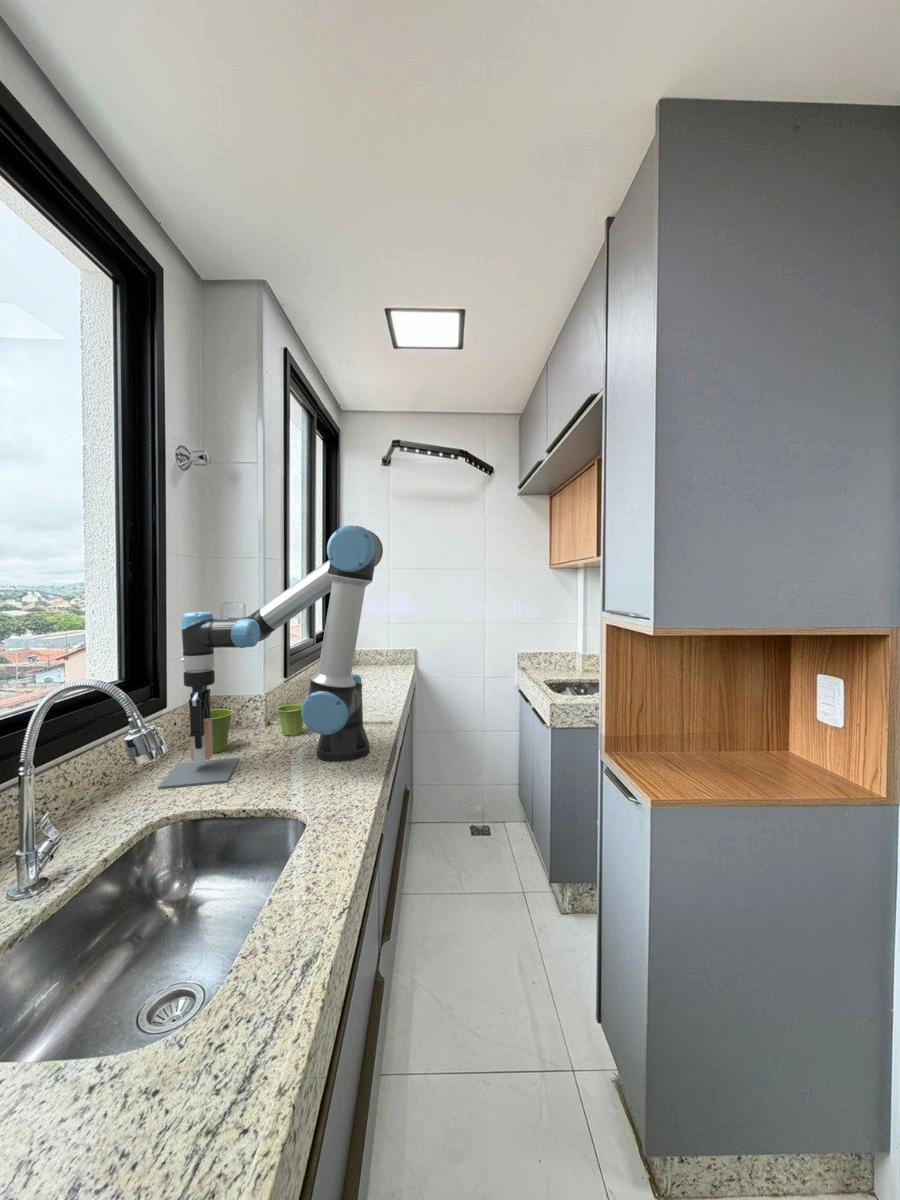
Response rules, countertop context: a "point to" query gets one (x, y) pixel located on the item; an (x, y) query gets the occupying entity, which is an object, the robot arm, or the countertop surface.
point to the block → (207, 739)
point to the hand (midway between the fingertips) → (202, 756)
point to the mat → (200, 773)
